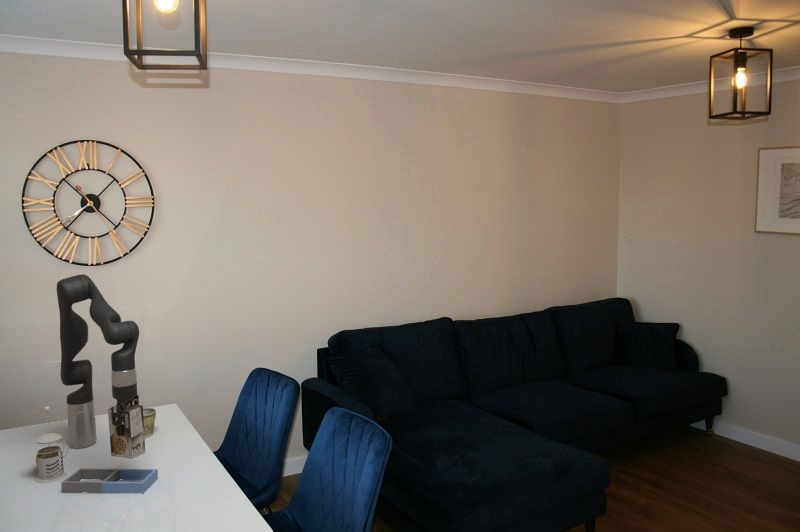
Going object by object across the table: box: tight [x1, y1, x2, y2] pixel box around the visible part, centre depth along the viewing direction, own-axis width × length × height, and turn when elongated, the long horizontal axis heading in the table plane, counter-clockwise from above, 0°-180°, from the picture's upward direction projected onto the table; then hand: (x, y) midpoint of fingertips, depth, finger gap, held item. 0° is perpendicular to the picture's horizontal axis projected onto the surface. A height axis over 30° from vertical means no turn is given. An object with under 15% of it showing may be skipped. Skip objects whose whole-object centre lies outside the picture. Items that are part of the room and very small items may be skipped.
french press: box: [34, 405, 69, 484], centre depth 217 cm, size 10×12×25 cm
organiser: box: [60, 467, 159, 495], centre depth 210 cm, size 11×27×4 cm, turn 87°
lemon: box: [35, 452, 52, 467], centre depth 223 cm, size 6×6×8 cm
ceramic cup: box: [143, 407, 157, 439], centre depth 257 cm, size 13×10×10 cm
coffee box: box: [107, 404, 146, 460], centre depth 208 cm, size 9×6×16 cm
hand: (126, 431), depth 208 cm, fingers closed on coffee box, 7 cm apart
